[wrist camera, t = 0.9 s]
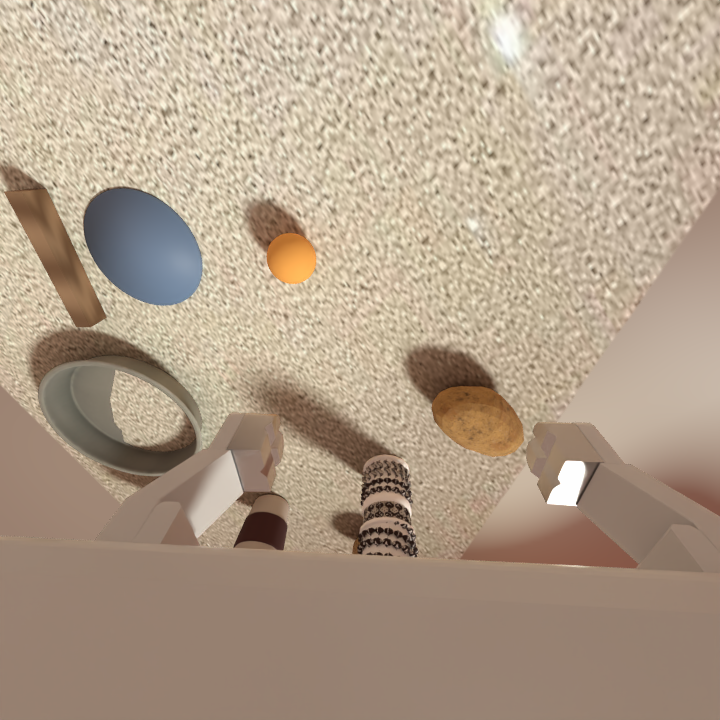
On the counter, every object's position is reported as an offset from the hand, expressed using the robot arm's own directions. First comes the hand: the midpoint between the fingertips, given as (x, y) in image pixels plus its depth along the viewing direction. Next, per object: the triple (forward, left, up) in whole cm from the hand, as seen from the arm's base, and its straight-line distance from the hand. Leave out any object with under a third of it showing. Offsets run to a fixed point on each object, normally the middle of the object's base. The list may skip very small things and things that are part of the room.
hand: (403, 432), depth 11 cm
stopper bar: (+3, -40, -32) cm, 51 cm away
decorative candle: (+41, +1, -32) cm, 53 cm away
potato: (+24, +13, -32) cm, 43 cm away
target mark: (+2, -30, -32) cm, 44 cm away
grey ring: (+28, -41, -33) cm, 59 cm away
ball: (+2, -11, -29) cm, 31 cm away
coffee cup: (+53, -22, -32) cm, 66 cm away
